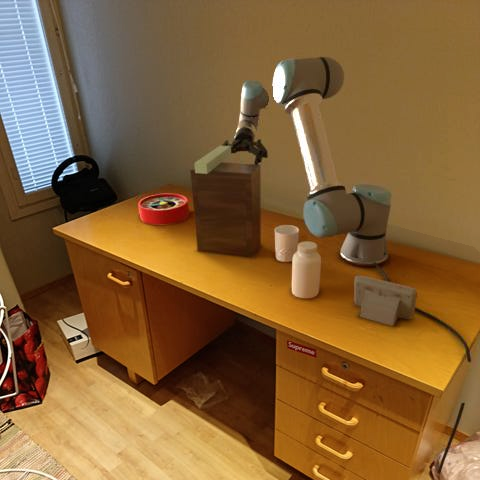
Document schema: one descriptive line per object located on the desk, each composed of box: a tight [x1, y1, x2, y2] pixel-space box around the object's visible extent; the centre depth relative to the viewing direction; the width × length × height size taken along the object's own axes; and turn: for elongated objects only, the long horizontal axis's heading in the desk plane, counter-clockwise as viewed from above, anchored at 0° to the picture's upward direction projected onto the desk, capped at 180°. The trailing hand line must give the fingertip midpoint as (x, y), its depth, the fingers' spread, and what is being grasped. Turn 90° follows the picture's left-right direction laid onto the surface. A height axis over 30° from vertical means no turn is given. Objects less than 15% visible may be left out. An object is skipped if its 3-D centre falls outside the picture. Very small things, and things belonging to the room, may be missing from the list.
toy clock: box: [137, 192, 190, 226], centre depth 183 cm, size 20×6×20 cm
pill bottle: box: [291, 240, 322, 299], centre depth 127 cm, size 8×8×15 cm
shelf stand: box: [189, 161, 262, 259], centre depth 149 cm, size 10×20×28 cm, turn 72°
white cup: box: [274, 224, 300, 263], centre depth 147 cm, size 8×8×10 cm
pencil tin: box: [194, 145, 232, 174], centre depth 144 cm, size 22×4×3 cm, turn 162°
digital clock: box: [353, 274, 418, 327], centre depth 117 cm, size 16×9×11 cm, turn 47°
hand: (236, 166), depth 159 cm, fingers open, 13 cm apart
